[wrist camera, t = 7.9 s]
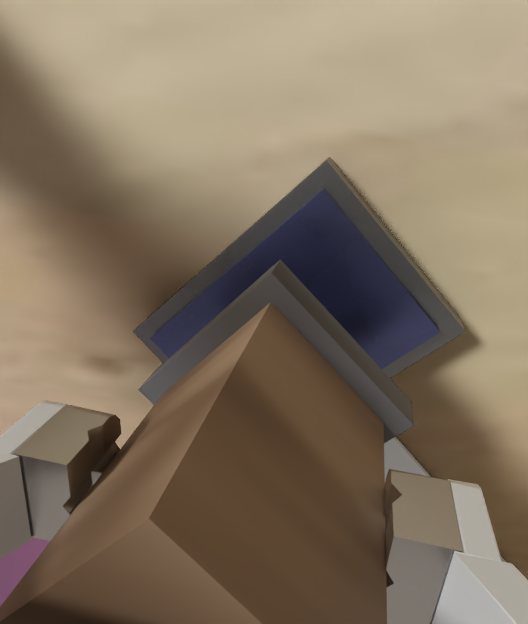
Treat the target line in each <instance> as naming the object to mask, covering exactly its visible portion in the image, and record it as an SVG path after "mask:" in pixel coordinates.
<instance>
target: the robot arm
mask: <svg viewBox="0 0 528 624" xmlns="http://www.w3.org/2000/svg"><path fill="white" fill-rule="evenodd" d="M120 434H121V426H120V419H119V418H118V417H117V416H116V415H114V414H109V413H104V412H100V411H95V410H91V409H86V408H82V407H77V406H73V405H67V404H62V403H57V402H53V401H43V402H40V403H38V404H37V405H36V406H35V407H34V408H32V409H31V410H30V411H29V412H28V413H27V414H25V415H24V416H23V417H22V418H21V419H19V420H18V421H17V422H16V423H15V424H14V425H12V426H11V427H10V428H9V429H8V430H7V431H5V432H4V433H3V434H2V435H1V436H0V559H2V558H4V557H5V556H7V555H8V554H10V553H12V552H13V551H15V550H16V549H18V548H20V547H21V546H23V545H24V544H26V543H28V542H29V541H31V537H33V538H37V539H42V540H47V541H51V540H52V538H53V537H54V536H55V534H56V533H57V532H58V531H59V529H60V528H61V527H62V525H63V524H64V523H65V521H66V520H67V519H68V517H69V516H70V515H71V514H72V512H73V511H74V510H75V508H76V507H77V506H78V504H79V503H80V502H81V500H82V499H83V498H84V497H85V495H86V494H87V493H88V491H89V490H90V489H91V487H92V486H93V485H94V483H95V482H96V481H97V480H98V478H99V477H100V476H101V474H102V473H103V472H104V470H105V469H106V468H107V466H108V465H109V464H110V462H111V461H112V460H113V459H114V457H115V456H116V455H117V453H118V452H119V451H120V449H119V447H118V446H117V444H116V443H115V441H116V439H117V438H118V437H119V436H120ZM384 514H385V531H386V532H385V561H386V587H387V624H528V580H527V579H526V577H525V576H524V575H523V574H522V573H521V572H520V571H519V570H518V569H517V568H516V567H515V566H514V565H513V564H511V563H507V562H502V559H501V555H500V552H499V548H498V545H497V541H496V538H495V534H494V531H493V527H492V524H491V520H490V517H489V513H488V510H487V506H486V503H485V499H484V496H483V492H482V489H481V487H480V486H479V485H478V484H474V483H468V482H462V481H456V480H450V479H447V480H445V479H440V478H435V477H429V476H424V475H419V474H414V473H408V472H403V471H398V470H393V469H389V470H388V473H387V477H386V481H385V485H384Z"/></svg>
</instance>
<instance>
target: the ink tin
mask: <svg viewBox="0 0 528 624" xmlns="http://www.w3.org/2000/svg"><path fill="white" fill-rule="evenodd" d="M279 260H281V261H282V262H283V263H284V264H285V265H286V266H287V267H288V268H289V269H290V271H291V272H292V273H293V274H294V275H295V276H296V277H297V278H298V279H299V280H300V281H301V282H302V284H303V285H304V286H305V287H306V288H307V289H308V290H309V291H310V292H311V293H312V294H313V295H314V296H315V298H316V299H317V300H318V301H319V302H320V303H321V304H322V305H323V306H324V307H325V308H326V309H327V311H328V312H329V313H330V314H331V315H332V316H333V317H334V318H335V319H336V320H337V321H338V322H339V324H340V325H341V326H342V327H343V328H344V329H345V330H346V331H347V332H348V333H349V334H350V335H351V336H352V338H353V339H354V340H355V341H356V342H357V343H358V344H359V345H360V346H361V347H362V348H363V349H364V351H365V352H366V353H367V354H368V355H369V356H370V357H371V358H372V359H373V360H374V361H375V362H376V364H377V365H378V366H379V367H380V368H381V369H382V370H383V371H384V372H385V373H386V374H387V375H388V377H389V378H391V377H393V376H394V375H396V374H397V373H399V372H401V371H402V370H404V369H406V368H407V367H409V366H410V365H412V364H414V363H415V362H417V361H418V360H420V359H422V358H423V357H425V356H427V355H428V354H430V353H431V352H433V351H435V350H436V349H438V348H439V347H441V346H443V345H444V344H446V343H448V342H449V341H451V340H452V339H454V338H456V337H457V336H459V335H460V334H462V333H464V332H465V329H464V326H463V324H462V322H461V319H460V317H459V316H458V315H457V313H456V312H455V311H454V310H453V309H452V307H451V306H450V305H449V304H448V302H447V301H446V300H445V299H444V297H443V296H442V295H441V294H440V293H439V291H438V290H437V289H436V288H435V286H434V285H433V284H432V283H431V281H430V280H429V279H428V278H427V276H426V275H425V274H424V273H423V272H422V270H421V269H420V268H419V267H418V265H417V264H416V263H415V262H414V260H413V259H412V258H411V257H410V255H409V254H408V253H407V252H406V251H405V249H404V248H403V247H402V246H401V244H400V243H399V242H398V241H397V239H396V238H395V237H394V236H393V234H392V233H391V232H390V231H389V230H388V228H387V227H386V226H385V225H384V223H383V222H382V221H381V220H380V218H379V217H378V216H377V215H376V213H375V212H374V211H373V210H372V209H371V207H370V206H369V205H368V204H367V202H366V201H365V200H364V199H363V197H362V196H361V195H360V194H359V193H358V191H357V190H356V189H355V188H354V186H353V185H352V184H351V183H350V181H349V180H348V179H347V178H346V176H345V175H344V174H343V173H342V172H341V170H340V169H339V168H338V167H337V165H336V164H335V163H334V162H333V160H332V159H331V158H330V157H329V158H328V159H327V160H326V161H325V162H324V163H322V164H321V165H320V166H319V167H318V168H317V169H316V170H315V171H313V172H312V173H311V174H310V175H309V176H308V177H307V178H305V179H304V180H303V181H302V182H301V183H300V184H299V185H298V186H296V187H295V188H294V189H293V190H292V191H291V192H290V193H289V194H287V195H286V196H285V197H284V198H283V199H282V200H281V201H279V202H278V203H277V204H276V205H275V206H274V207H273V208H272V209H270V210H269V211H268V212H267V213H266V214H265V215H264V216H263V217H261V218H260V219H259V220H258V221H257V222H256V223H255V224H253V225H252V226H251V227H250V228H249V229H248V230H247V231H246V232H244V233H243V234H242V235H241V236H240V237H239V238H238V239H237V240H235V241H234V242H233V243H232V244H231V245H230V246H229V247H227V248H226V249H225V250H224V251H223V252H222V253H221V254H220V255H218V256H217V257H216V258H215V259H214V260H213V261H212V262H211V263H209V264H208V265H207V266H206V267H205V268H204V269H203V270H202V271H200V272H199V273H198V274H197V275H196V276H195V277H194V278H192V279H191V280H190V281H189V282H188V283H187V284H186V285H185V286H183V287H182V288H181V289H180V290H179V291H178V292H177V293H176V294H174V295H173V296H172V297H171V298H170V299H169V300H168V301H166V302H165V303H164V304H163V305H162V306H161V307H160V308H159V309H157V310H156V311H155V312H154V313H153V314H152V315H151V316H150V317H148V318H147V319H146V320H145V321H144V322H143V323H142V324H141V325H140V326H138V327H137V328H136V329H135V330H134V331H133V332H134V333H135V334H136V335H137V336H138V337H139V338H140V339H141V340H142V341H143V342H144V343H145V345H146V346H147V347H148V348H149V349H150V350H151V351H152V352H153V353H154V354H155V355H156V356H157V357H158V358H159V359H160V360H161V361H162V362H163V363H164V362H165V361H166V360H167V359H169V358H170V357H171V356H172V355H173V354H174V353H175V352H177V351H178V350H179V349H180V348H181V347H182V346H183V345H184V344H186V343H187V342H188V341H189V340H190V339H191V338H192V337H193V336H195V335H196V334H197V333H198V332H199V331H200V330H201V329H202V328H204V327H205V326H206V325H207V324H208V323H209V322H210V321H211V320H213V319H214V318H215V317H216V316H217V315H218V314H219V313H220V312H222V311H223V310H224V309H225V308H226V307H227V306H228V305H229V304H231V303H232V302H233V301H234V300H235V299H236V298H237V297H239V296H240V295H241V294H242V293H243V292H244V291H245V290H246V289H248V288H249V287H250V286H251V285H252V284H253V283H254V282H255V281H257V280H258V279H259V278H260V277H261V276H262V275H263V274H264V273H266V272H267V271H268V270H269V269H270V268H271V267H272V266H273V265H275V264H276V263H277V262H278V261H279Z"/></svg>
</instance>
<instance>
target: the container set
mask: <svg viewBox="0 0 528 624" xmlns="http://www.w3.org/2000/svg"><path fill="white" fill-rule="evenodd" d="M49 542H50V541H47V540H42V539H37V538H33V537H31V541H29V542H28V543H26V544H24V545H23V546H21V547H20V548H18V549H16V550H15V551H13V552H12V553H10V554H8V555H7V556H5V557H4V558H2V559H0V606H1V605H2V604H3V603H4V601H5V600H6V599H7V597H8V596H9V595H10V593H11V592H12V591H13V589H14V588H15V587H16V586H17V584H18V583H19V582H20V580H21V579H22V578H23V576H24V575H25V574H26V572H27V571H28V570H29V569H30V567H31V566H32V565H33V563H34V562H35V561H36V559H37V558H38V557H39V555H40V554H41V553H42V552H43V550H44V549H45V548H46V546H47V545H48V544H49Z"/></svg>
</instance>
